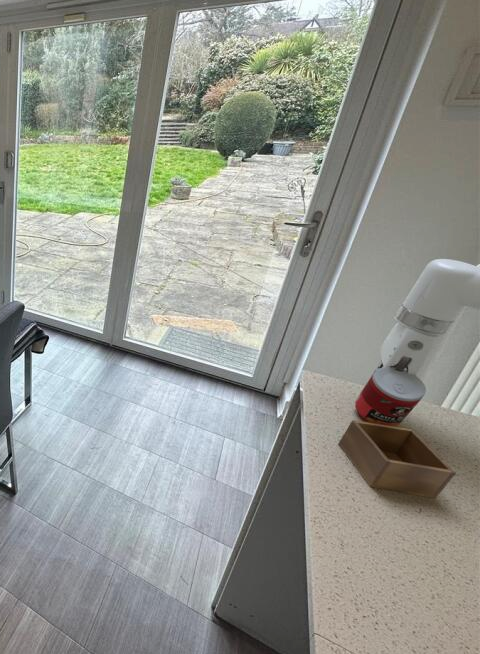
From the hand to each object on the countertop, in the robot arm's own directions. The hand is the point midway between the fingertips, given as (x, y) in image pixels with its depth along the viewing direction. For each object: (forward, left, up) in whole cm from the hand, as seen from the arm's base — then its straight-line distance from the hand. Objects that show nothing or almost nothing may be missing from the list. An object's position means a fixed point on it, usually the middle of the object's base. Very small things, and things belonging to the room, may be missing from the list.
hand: (376, 388), depth 91 cm
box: (+8, +20, -4) cm, 22 cm away
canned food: (+1, +4, -3) cm, 5 cm away
